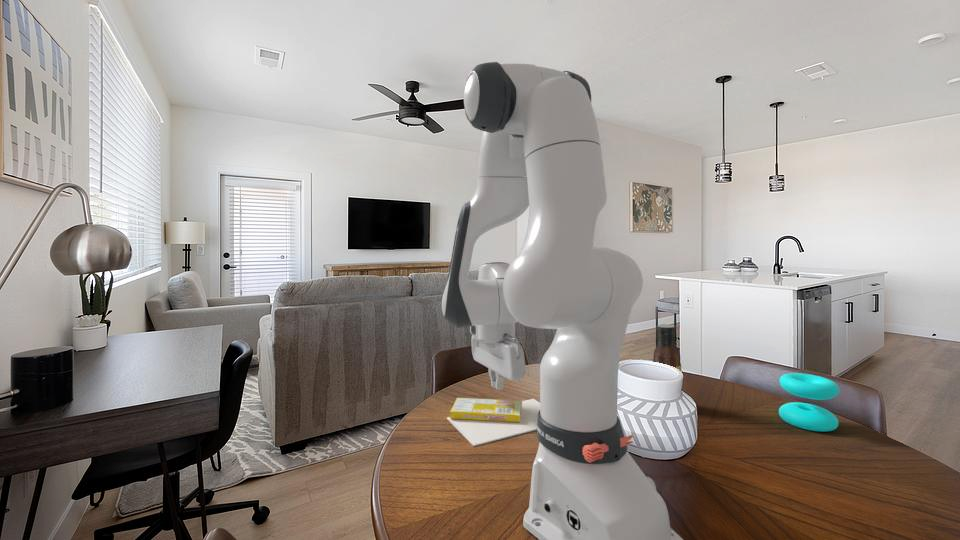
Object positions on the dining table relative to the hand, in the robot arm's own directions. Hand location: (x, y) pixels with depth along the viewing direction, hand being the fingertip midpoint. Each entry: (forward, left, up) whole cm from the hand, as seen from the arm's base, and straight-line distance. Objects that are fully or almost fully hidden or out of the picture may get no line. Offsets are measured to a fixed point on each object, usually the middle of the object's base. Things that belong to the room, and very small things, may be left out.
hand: (497, 388), depth 93 cm
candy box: (+3, +1, -5) cm, 6 cm away
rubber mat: (-5, 0, -6) cm, 8 cm away
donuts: (-37, -57, -6) cm, 68 cm away
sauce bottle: (-16, -39, -6) cm, 43 cm away
